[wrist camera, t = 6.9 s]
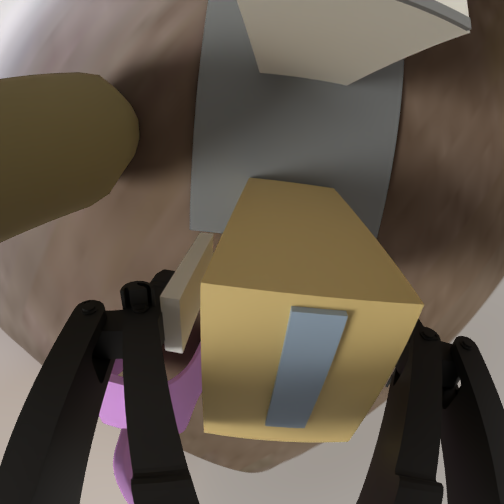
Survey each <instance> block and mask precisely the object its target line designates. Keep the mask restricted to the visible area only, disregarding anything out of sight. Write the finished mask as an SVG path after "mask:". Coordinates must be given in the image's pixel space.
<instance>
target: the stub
mask: <svg viewBox="0 0 504 504" xmlns="http://www.w3.org/2000/svg"><path fill="white" fill-rule="evenodd" d="M423 306H424V304H423V302H422V301H421V299H420V298H419V296H418V295H417V293H416V292H415V291H414V289H413V288H412V286H411V285H410V283H409V282H408V281H407V279H406V278H405V276H404V275H403V274H402V272H401V271H400V270H399V268H398V267H397V266H396V264H395V263H394V262H393V260H392V259H391V258H390V256H389V255H388V254H387V252H386V251H385V250H384V248H383V247H382V246H381V244H380V243H379V242H378V241H377V239H376V238H375V237H374V236H373V234H372V233H371V232H370V231H369V229H368V228H367V227H366V226H365V224H364V223H363V222H362V221H361V220H360V218H359V217H358V216H357V215H356V213H355V212H354V211H353V210H352V209H351V208H350V206H349V205H348V204H347V203H346V202H345V201H344V199H343V198H342V197H341V196H340V195H339V194H338V192H337V191H336V190H335V189H334V188H328V187H322V186H315V185H308V184H300V183H293V182H285V181H277V180H268V179H259V178H250V177H249V179H248V181H247V183H246V185H245V187H244V189H243V192H242V194H241V196H240V198H239V200H238V202H237V204H236V206H235V208H234V210H233V213H232V215H231V217H230V219H229V221H228V223H227V225H226V228H225V230H224V232H223V234H222V236H221V238H220V241H219V243H218V245H217V247H216V249H215V252H214V254H213V256H212V258H211V260H210V263H209V265H208V267H207V269H206V271H205V274H204V276H203V278H202V280H201V285H200V323H201V374H202V400H203V421H204V432H205V433H211V434H217V435H224V436H231V437H239V438H248V439H258V440H271V441H287V442H348V441H349V440H350V438H351V437H352V436H353V434H354V433H355V431H356V430H357V428H358V427H359V425H360V424H361V422H362V421H363V419H364V418H365V416H366V415H367V413H368V412H369V410H370V408H371V407H372V405H373V404H374V402H375V400H376V399H377V397H378V395H379V394H380V392H381V390H382V389H383V387H384V385H385V383H386V382H387V380H388V378H389V376H390V374H391V373H392V371H393V369H394V367H395V365H396V363H397V361H398V360H399V358H400V356H401V354H402V352H403V350H404V348H405V346H406V344H407V342H408V340H409V337H410V335H411V333H412V331H413V329H414V327H415V324H416V322H417V320H418V318H419V315H420V313H421V311H422V308H423Z"/></svg>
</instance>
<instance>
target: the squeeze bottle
mask: <svg viewBox="0 0 504 504" xmlns="http://www.w3.org/2000/svg"><path fill="white" fill-rule="evenodd" d="M139 138H140V136H139V122H138V118H137V116H136V114H135V112H134V110H133V108H132V106H131V104H130V103H129V102H128V101H127V100H126V99H125V98H124V97H123V95H122V94H121V93H120V92H119V91H118V90H117V89H116V88H115V87H113V86H112V85H111V84H110V83H108V82H107V81H106V80H105V79H103V78H102V77H101V76H100V75H94V74H87V73H79V72H75V73H51V74H38V75H27V76H19V77H11V78H4V79H0V243H1V242H3V241H5V240H7V239H9V238H12V237H14V236H16V235H18V234H21V233H23V232H25V231H28V230H30V229H32V228H35V227H37V226H40V225H42V224H45V223H47V222H49V221H52V220H55V219H57V218H60V217H62V216H65V215H68V214H70V213H73V212H76V211H78V210H81V209H84V208H87V207H89V206H91V205H93V204H94V203H96V202H97V201H99V200H100V199H102V198H103V197H105V196H106V195H108V194H109V193H110V192H111V190H112V188H113V187H114V185H115V184H116V182H117V181H118V179H119V178H120V176H121V175H122V173H123V172H124V170H125V169H126V167H127V166H128V164H129V163H130V161H131V160H132V158H133V157H134V155H135V153H136V149H137V145H138V142H139Z"/></svg>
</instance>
